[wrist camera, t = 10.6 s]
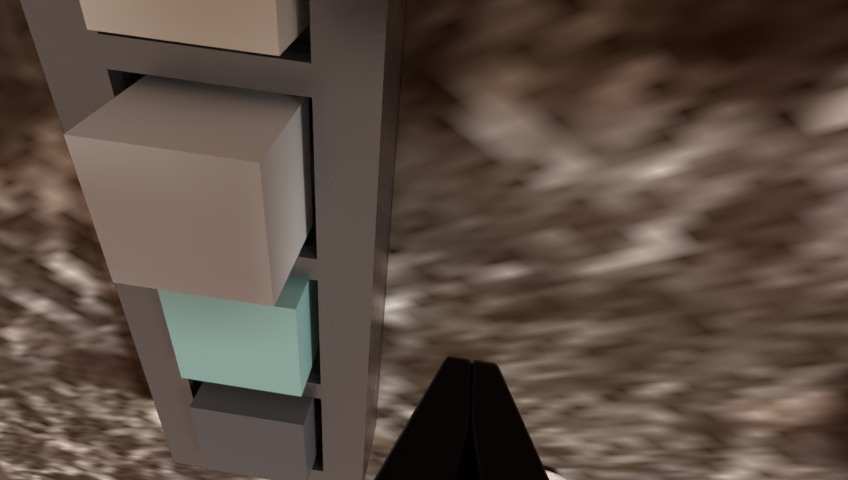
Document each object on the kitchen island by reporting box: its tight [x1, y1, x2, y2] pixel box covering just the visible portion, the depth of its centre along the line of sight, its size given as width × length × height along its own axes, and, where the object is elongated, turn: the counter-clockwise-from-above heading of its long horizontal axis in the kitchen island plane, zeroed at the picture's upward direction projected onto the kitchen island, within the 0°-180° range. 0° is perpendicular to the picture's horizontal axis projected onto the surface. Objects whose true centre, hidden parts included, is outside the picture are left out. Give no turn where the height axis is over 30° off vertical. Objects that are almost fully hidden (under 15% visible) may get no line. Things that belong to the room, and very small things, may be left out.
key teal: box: [157, 276, 320, 397], centre depth 23 cm, size 5×5×4 cm
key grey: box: [63, 75, 313, 307], centre depth 17 cm, size 5×5×4 cm
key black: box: [190, 381, 322, 480], centre depth 27 cm, size 5×5×4 cm
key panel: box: [20, 0, 407, 480], centre depth 21 cm, size 10×30×4 cm, turn 174°
